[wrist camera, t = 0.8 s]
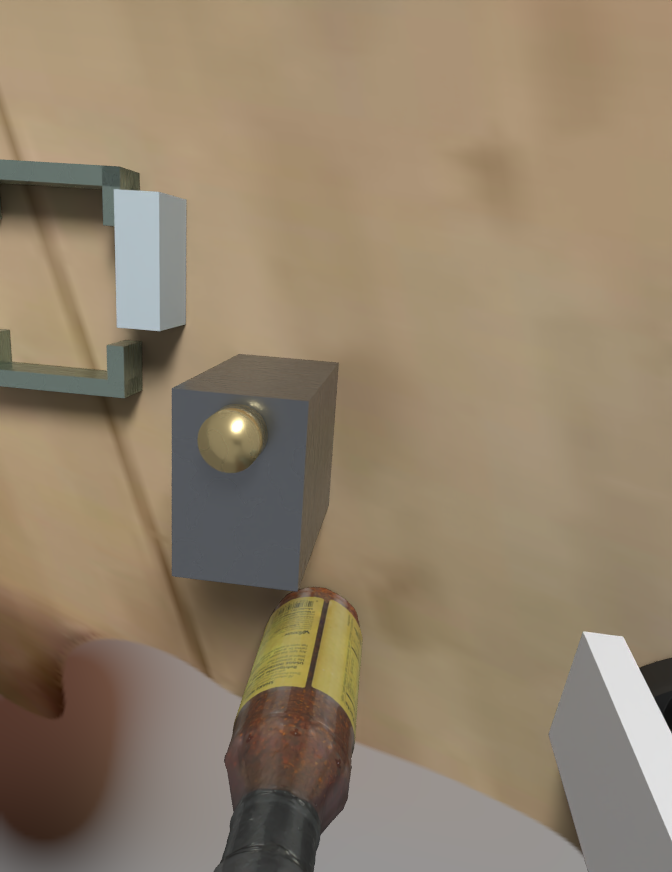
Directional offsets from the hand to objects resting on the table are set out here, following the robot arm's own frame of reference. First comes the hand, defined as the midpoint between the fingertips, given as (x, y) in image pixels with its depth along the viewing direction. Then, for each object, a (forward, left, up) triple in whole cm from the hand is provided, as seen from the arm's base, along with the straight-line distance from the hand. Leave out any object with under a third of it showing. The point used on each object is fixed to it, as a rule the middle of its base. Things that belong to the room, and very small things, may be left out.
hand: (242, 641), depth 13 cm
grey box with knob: (-3, +4, -26) cm, 27 cm away
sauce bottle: (-16, +1, -26) cm, 31 cm away
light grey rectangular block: (+7, +12, -26) cm, 29 cm away
